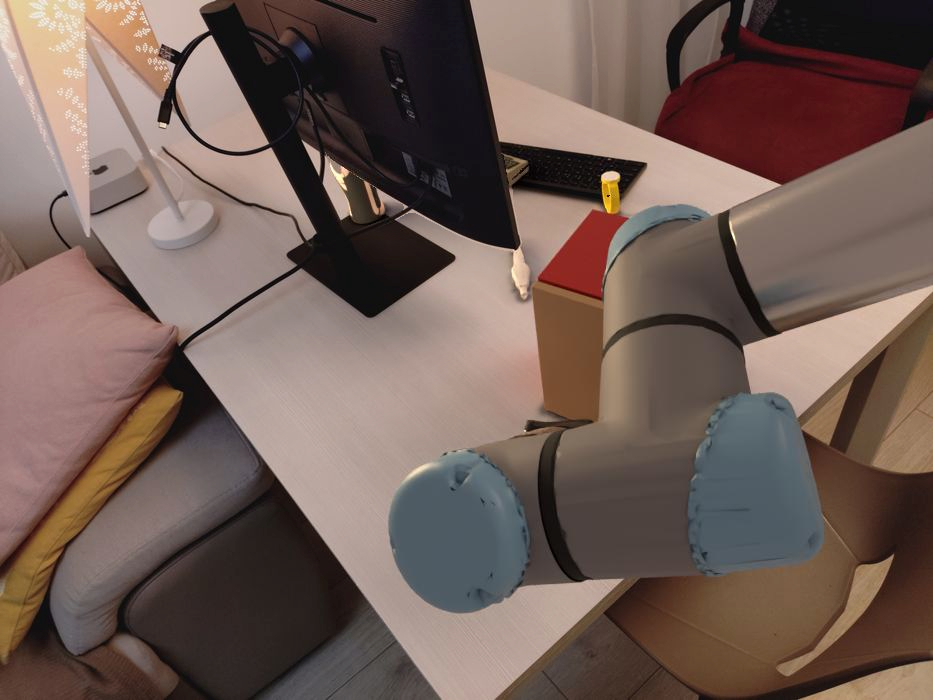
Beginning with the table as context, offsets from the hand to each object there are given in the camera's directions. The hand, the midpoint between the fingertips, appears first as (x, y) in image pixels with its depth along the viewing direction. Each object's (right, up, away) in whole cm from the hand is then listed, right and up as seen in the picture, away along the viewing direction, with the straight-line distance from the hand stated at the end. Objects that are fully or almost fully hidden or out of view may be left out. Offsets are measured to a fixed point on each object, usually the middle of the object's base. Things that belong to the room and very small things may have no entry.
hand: (647, 439), depth 63 cm
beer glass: (-35, +33, +47) cm, 67 cm away
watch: (+5, +31, +36) cm, 48 cm away
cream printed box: (-15, +41, +50) cm, 66 cm away
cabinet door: (-4, -2, +7) cm, 8 cm away
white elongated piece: (-10, +21, +30) cm, 38 cm away
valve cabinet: (+2, +4, +12) cm, 13 cm away
